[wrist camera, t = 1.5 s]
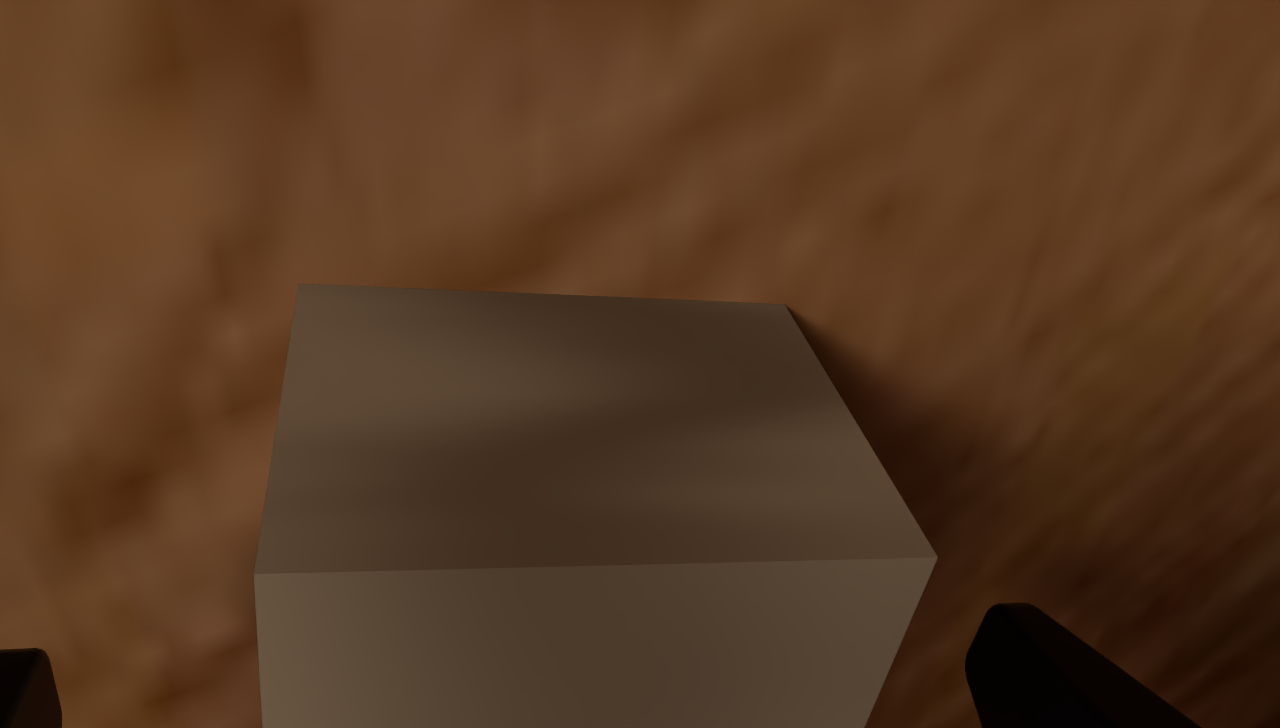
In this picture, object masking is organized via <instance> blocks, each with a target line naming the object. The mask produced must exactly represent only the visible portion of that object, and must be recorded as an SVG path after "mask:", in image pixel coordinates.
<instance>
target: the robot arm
mask: <svg viewBox="0 0 1280 728" xmlns="http://www.w3.org/2000/svg"><path fill="white" fill-rule="evenodd" d="M965 672H966V678H967V682H968V685H969V688H970V691H971V694H972V697H973V700H974V703H975V707H976V710H977V713H978V716H979V719H980V722H981V725H982V728H1202V727H1200V726H1199V725H1197V724H1196V723H1195V722H1193V721H1192V720H1191V719H1189V718H1188V717H1186V716H1185V715H1184V714H1182V713H1181V712H1180V711H1178V710H1177V709H1176V708H1174V707H1173V706H1171V705H1170V704H1169V703H1167V702H1166V701H1165V700H1163V699H1162V698H1160V697H1159V696H1158V695H1156V694H1155V693H1154V692H1152V691H1151V690H1149V689H1148V688H1147V687H1145V686H1144V685H1143V684H1141V683H1140V682H1139V681H1137V680H1136V679H1134V678H1133V677H1132V676H1130V675H1129V674H1128V673H1126V672H1125V671H1123V670H1122V669H1121V668H1119V667H1118V666H1117V665H1115V664H1114V663H1112V662H1111V661H1110V660H1108V659H1107V658H1106V657H1104V656H1103V655H1102V654H1100V653H1099V652H1097V651H1096V650H1095V649H1093V648H1092V647H1091V646H1089V645H1088V644H1086V643H1085V642H1084V641H1082V640H1081V639H1080V638H1078V637H1077V636H1075V635H1074V634H1073V633H1071V632H1070V631H1069V630H1067V629H1066V628H1065V627H1063V626H1062V625H1060V624H1059V623H1058V622H1056V621H1055V620H1054V619H1052V618H1051V617H1049V616H1048V615H1047V614H1045V613H1044V612H1043V611H1041V610H1040V609H1038V608H1037V607H1035V606H1034V605H1031V604H1028V603H1003V604H996V605H993V606H992V607H991V608H989V609H988V611H987V612H986V614H985V616H984V618H983V621H982V623H981V625H980V627H979V629H978V631H977V633H976V635H975V637H974V639H973V642H972V644H971V646H970V648H969V650H968V652H967V655H966V660H965ZM0 728H62V711H61V706H60V701H59V697H58V693H57V689H56V685H55V680H54V676H53V672H52V668H51V664H50V660H49V657H48V655H47V654H46V652H45V651H44V650H42V649H37V648H27V649H5V650H0Z"/></svg>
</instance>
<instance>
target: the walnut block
mask: <svg viewBox="0 0 1280 728" xmlns="http://www.w3.org/2000/svg"><path fill="white" fill-rule="evenodd" d="M937 559H938V557H937V555H936V553H935V552H934V550H933V548H932V547H931V545H930V543H929V542H928V540H927V538H926V537H925V535H924V534H923V532H922V530H921V529H920V527H919V525H918V524H917V522H916V520H915V519H914V517H913V515H912V514H911V512H910V510H909V509H908V507H907V505H906V504H905V502H904V500H903V499H902V497H901V496H900V494H899V492H898V491H897V489H896V487H895V486H894V484H893V482H892V481H891V479H890V477H889V476H888V474H887V472H886V471H885V469H884V467H883V466H882V464H881V463H880V461H879V459H878V458H877V456H876V454H875V453H874V451H873V449H872V448H871V446H870V444H869V443H868V441H867V439H866V438H865V436H864V434H863V433H862V431H861V429H860V428H859V426H858V425H857V423H856V421H855V420H854V418H853V416H852V415H851V413H850V411H849V410H848V408H847V406H846V405H845V403H844V401H843V400H842V398H841V396H840V395H839V393H838V392H837V390H836V388H835V387H834V385H833V383H832V382H831V380H830V378H829V377H828V375H827V373H826V372H825V370H824V368H823V367H822V365H821V363H820V362H819V360H818V358H817V357H816V355H815V354H814V352H813V350H812V349H811V347H810V345H809V344H808V342H807V340H806V339H805V337H804V335H803V334H802V332H801V330H800V329H799V327H798V325H797V324H796V322H795V321H794V319H793V317H792V316H791V314H790V312H789V311H788V309H787V307H786V306H785V304H767V303H743V302H720V301H696V300H673V299H650V298H626V297H603V296H579V295H556V294H533V293H509V292H486V291H462V290H439V289H416V288H392V287H369V286H345V285H322V284H299V283H298V290H297V296H296V303H295V309H294V316H293V322H292V329H291V335H290V342H289V348H288V355H287V361H286V368H285V374H284V381H283V387H282V394H281V400H280V407H279V413H278V420H277V426H276V433H275V439H274V446H273V452H272V459H271V465H270V472H269V478H268V485H267V491H266V498H265V504H264V511H263V517H262V524H261V530H260V537H259V543H258V550H257V556H256V563H255V569H254V587H255V604H256V622H257V639H258V656H259V674H260V691H261V708H262V725H263V728H864V727H865V725H866V723H867V720H868V718H869V716H870V713H871V711H872V709H873V707H874V704H875V702H876V700H877V697H878V695H879V693H880V690H881V688H882V686H883V683H884V681H885V679H886V676H887V674H888V672H889V670H890V667H891V665H892V663H893V660H894V658H895V656H896V653H897V651H898V649H899V646H900V644H901V642H902V640H903V637H904V635H905V633H906V630H907V628H908V626H909V623H910V621H911V619H912V616H913V614H914V612H915V609H916V607H917V605H918V603H919V600H920V598H921V596H922V593H923V591H924V589H925V586H926V584H927V582H928V579H929V577H930V575H931V573H932V570H933V568H934V566H935V563H936V561H937Z"/></svg>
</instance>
